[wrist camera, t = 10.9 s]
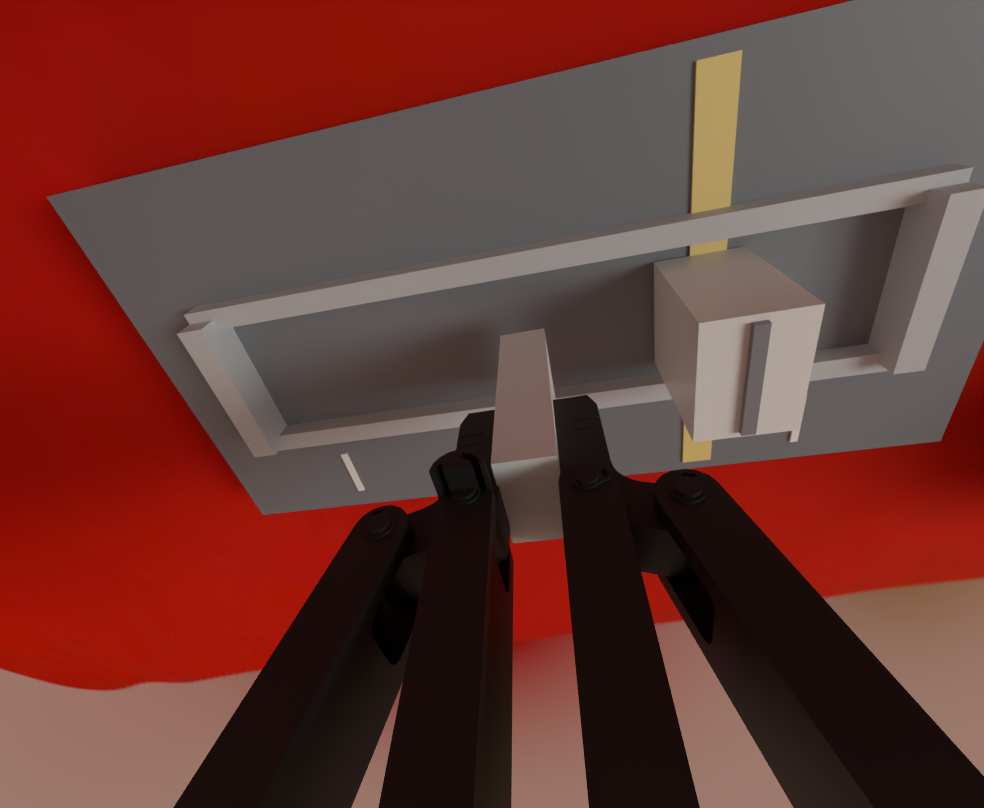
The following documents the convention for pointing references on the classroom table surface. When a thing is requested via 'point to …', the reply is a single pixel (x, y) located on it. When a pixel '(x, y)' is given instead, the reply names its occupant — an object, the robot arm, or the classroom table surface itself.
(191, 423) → the classroom table surface
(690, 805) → the robot arm
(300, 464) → the panel
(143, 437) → the classroom table surface
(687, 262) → the fader tab
